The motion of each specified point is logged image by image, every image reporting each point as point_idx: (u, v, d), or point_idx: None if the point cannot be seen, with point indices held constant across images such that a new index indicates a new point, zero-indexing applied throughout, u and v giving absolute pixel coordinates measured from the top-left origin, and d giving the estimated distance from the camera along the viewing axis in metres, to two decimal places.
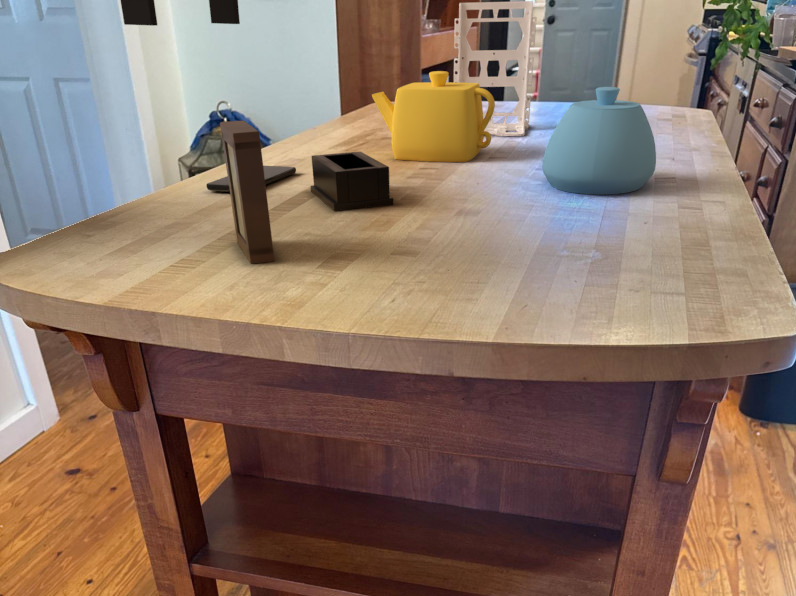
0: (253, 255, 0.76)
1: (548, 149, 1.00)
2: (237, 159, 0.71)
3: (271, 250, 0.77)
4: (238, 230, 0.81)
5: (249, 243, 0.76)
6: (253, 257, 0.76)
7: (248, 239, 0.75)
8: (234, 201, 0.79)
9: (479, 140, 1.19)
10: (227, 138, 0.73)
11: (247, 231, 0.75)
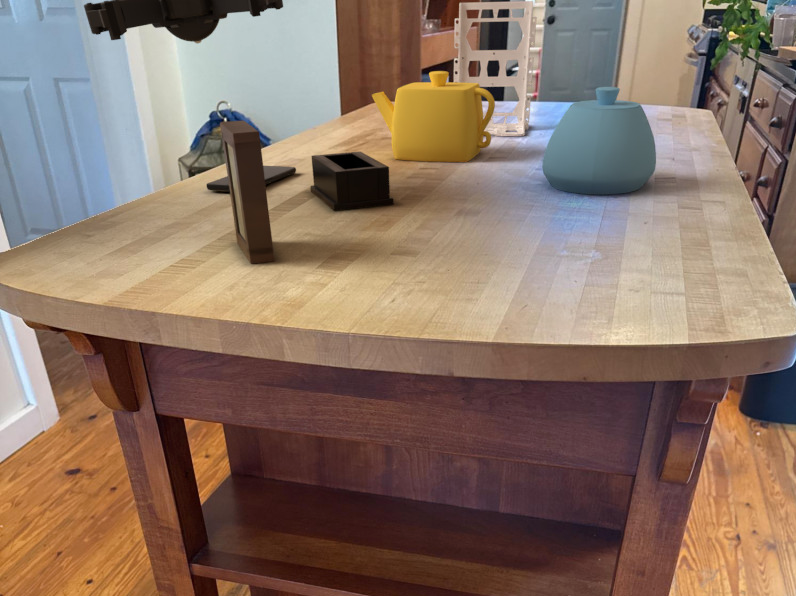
0: (253, 255, 0.76)
1: (548, 149, 1.00)
2: (237, 159, 0.71)
3: (271, 250, 0.77)
4: (238, 230, 0.81)
5: (249, 243, 0.76)
6: (253, 257, 0.76)
7: (248, 239, 0.75)
8: (234, 201, 0.79)
9: (479, 140, 1.19)
10: (227, 138, 0.73)
11: (247, 231, 0.75)
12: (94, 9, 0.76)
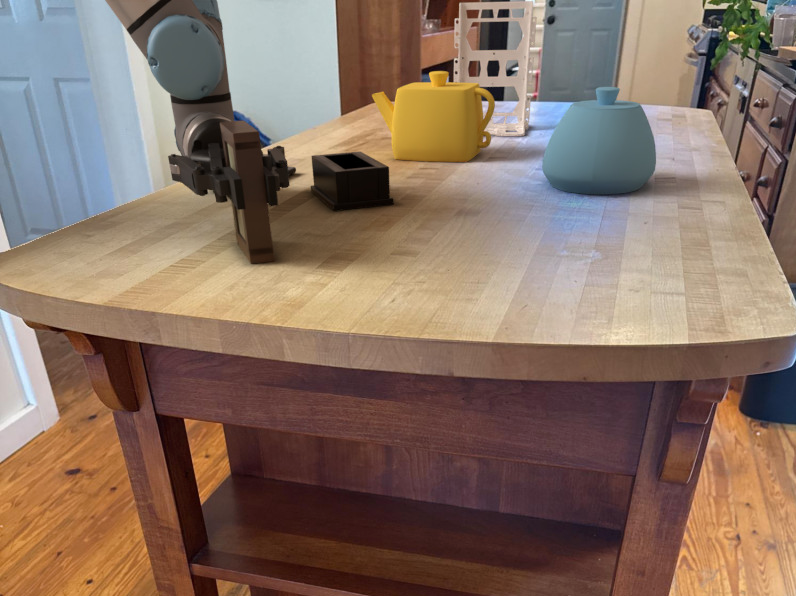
0: (253, 255, 0.76)
1: (548, 149, 1.00)
2: (237, 159, 0.71)
3: (271, 250, 0.77)
4: (238, 230, 0.81)
5: (249, 243, 0.76)
6: (253, 257, 0.76)
7: (248, 239, 0.75)
8: None
9: (479, 140, 1.19)
10: (227, 138, 0.73)
11: (247, 231, 0.75)
12: (205, 173, 0.76)
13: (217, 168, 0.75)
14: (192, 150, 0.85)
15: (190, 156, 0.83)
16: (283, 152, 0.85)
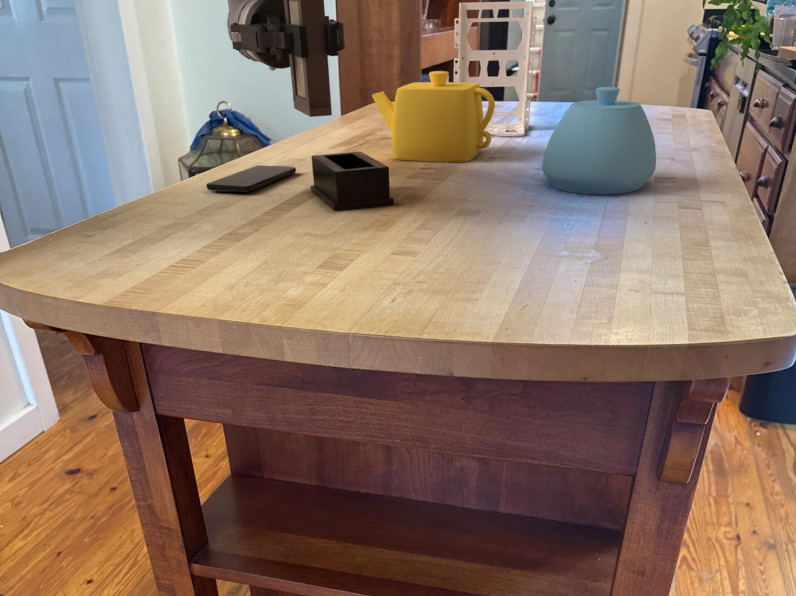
0: (312, 108, 0.82)
1: (548, 149, 1.00)
2: (302, 8, 0.76)
3: (329, 104, 0.82)
4: (296, 92, 0.86)
5: (309, 95, 0.81)
6: (312, 110, 0.82)
7: (309, 91, 0.81)
8: (293, 62, 0.84)
9: (479, 140, 1.19)
10: None
11: (308, 83, 0.80)
12: (268, 31, 0.82)
13: (280, 25, 0.81)
14: (250, 24, 0.91)
15: None
16: None
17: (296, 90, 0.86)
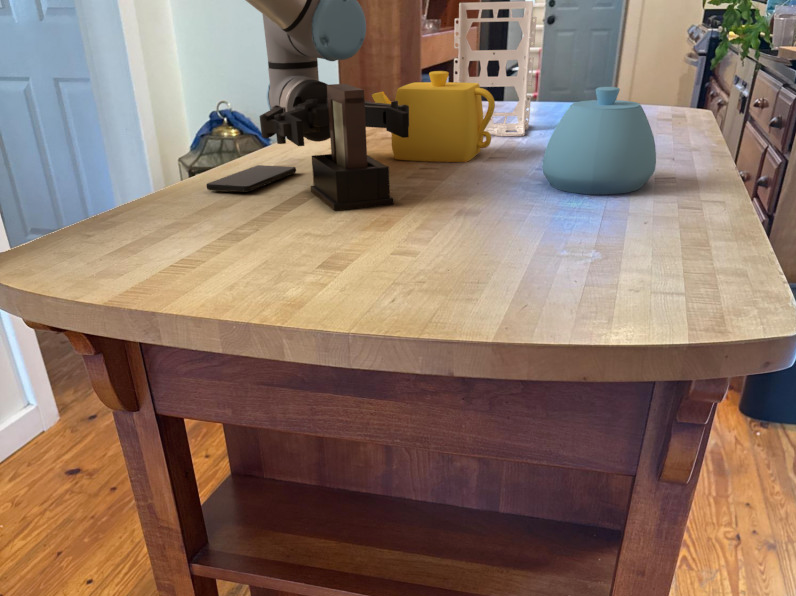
0: None
1: (548, 149, 1.00)
2: (346, 112, 0.90)
3: None
4: None
5: None
6: None
7: None
8: (335, 149, 0.98)
9: (479, 140, 1.19)
10: (335, 96, 0.92)
11: None
12: (268, 120, 0.95)
13: (278, 115, 0.94)
14: (293, 105, 1.04)
15: (293, 109, 1.02)
16: None
17: None
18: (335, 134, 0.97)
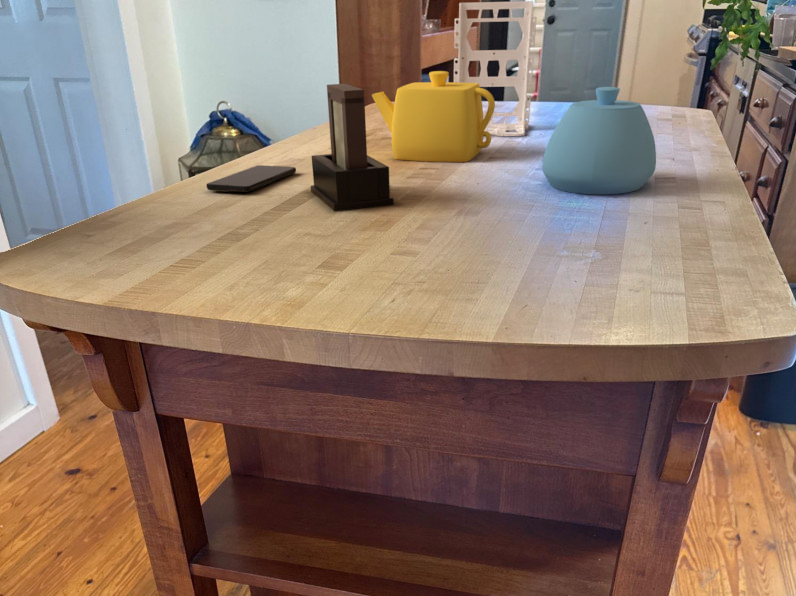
0: None
1: (548, 149, 1.00)
2: (346, 112, 0.90)
3: None
4: None
5: None
6: None
7: None
8: (335, 149, 0.98)
9: (479, 140, 1.19)
10: (335, 96, 0.92)
11: None
12: None
13: None
14: None
15: None
16: None
17: None
18: (335, 134, 0.97)
